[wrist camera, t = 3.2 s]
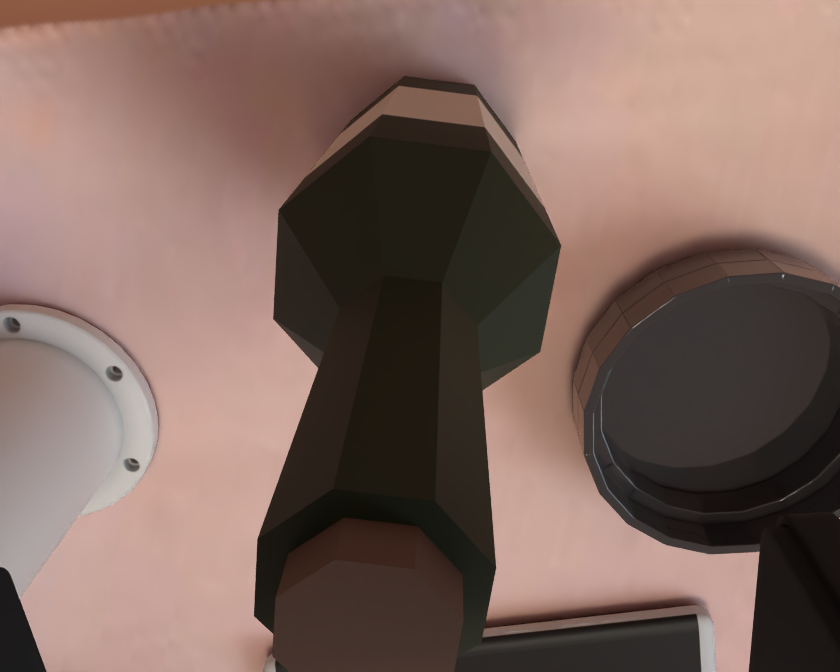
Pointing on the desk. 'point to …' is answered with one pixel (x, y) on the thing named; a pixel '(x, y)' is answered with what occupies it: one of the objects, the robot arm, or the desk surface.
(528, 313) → the wine bottle
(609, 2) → the desk surface
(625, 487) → the pan
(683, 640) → the smartphone
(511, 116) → the desk surface
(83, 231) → the desk surface
